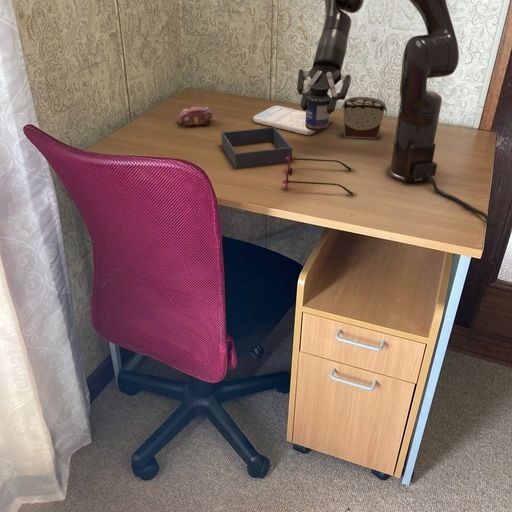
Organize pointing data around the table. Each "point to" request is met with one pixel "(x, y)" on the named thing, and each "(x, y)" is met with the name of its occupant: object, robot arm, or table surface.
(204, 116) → the pink toy car
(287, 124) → the calculator
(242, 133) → the fence
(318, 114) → the pill bottle
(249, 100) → the table surface
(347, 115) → the food container
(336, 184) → the glasses
